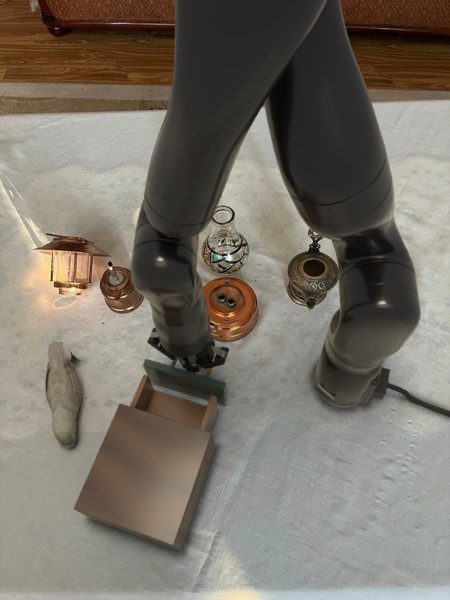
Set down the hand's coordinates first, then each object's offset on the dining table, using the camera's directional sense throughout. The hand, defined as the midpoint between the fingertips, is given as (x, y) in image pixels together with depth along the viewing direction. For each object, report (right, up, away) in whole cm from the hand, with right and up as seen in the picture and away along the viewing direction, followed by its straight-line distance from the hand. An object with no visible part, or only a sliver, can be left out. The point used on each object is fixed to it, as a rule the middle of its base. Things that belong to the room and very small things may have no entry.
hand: (193, 368), depth 87 cm
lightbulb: (-9, +22, +18) cm, 30 cm away
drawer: (-2, -7, -1) cm, 8 cm away
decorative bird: (-21, -6, +2) cm, 22 cm away
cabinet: (-6, -17, -5) cm, 19 cm away
